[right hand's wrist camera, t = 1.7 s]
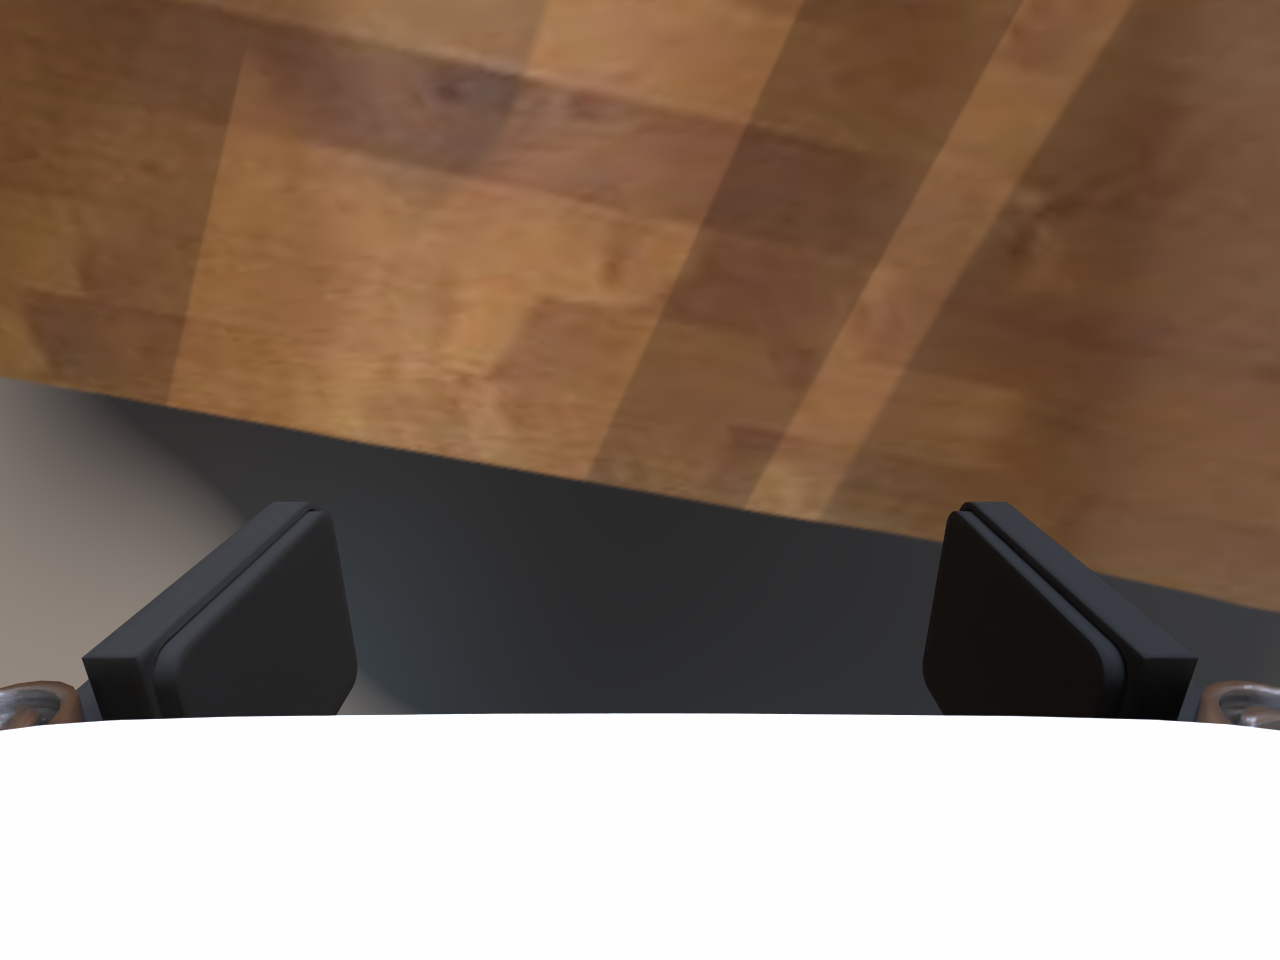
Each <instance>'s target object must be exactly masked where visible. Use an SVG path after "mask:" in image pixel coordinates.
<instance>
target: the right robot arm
mask: <svg viewBox="0 0 1280 960" xmlns="http://www.w3.org/2000/svg"><path fill="white" fill-rule="evenodd" d="M82 660H83V663H84V666H85V669H86V672H87V675H88V678H89V680H87V681H86V682H85V683H84V684H83V685H82V686H81V687H79V688H78V689H77V690H75V689H74V687H73V686H70V685H68V684H65V683H63V682H57V681H35V682H26V683H19V684H14V685H11V686H7V687H3V688H0V960H1280V688H1277V687H1273V686H1269V685H1265V684H1262V683H1254V682H1245V681H1223V682H1217V683H1215V684H1212V685H1210V686H1207V687H1206V689H1205V690H1203V689H1202V688H1201V687H1199V686H1198V685H1197V684H1196V683H1195V682H1194V681H1193V680H1191V678H1192V675H1193V672H1194V669H1195V666H1196V663H1197V660H1198V657H1196V656H1195V655H1194V654H1193V653H1191V652H1190V651H1189V650H1188V649H1187V648H1185V647H1184V646H1183V645H1182V644H1181V643H1179V642H1178V641H1177V640H1176V639H1174V638H1173V637H1172V636H1171V635H1169V634H1168V633H1167V632H1166V631H1165V630H1163V629H1162V628H1161V627H1160V626H1158V625H1157V624H1156V623H1155V622H1154V621H1152V620H1151V619H1150V618H1149V617H1147V616H1146V615H1145V614H1144V613H1142V612H1141V611H1140V610H1139V609H1138V608H1136V607H1135V606H1134V605H1133V604H1131V603H1130V602H1129V601H1128V600H1127V599H1125V598H1124V597H1123V596H1122V595H1120V594H1119V593H1118V592H1117V591H1116V590H1114V589H1113V588H1112V587H1111V586H1109V585H1108V584H1107V583H1106V582H1104V581H1103V580H1102V579H1101V578H1100V577H1098V576H1097V575H1096V574H1095V573H1093V572H1092V571H1091V570H1090V569H1089V568H1087V567H1086V566H1085V565H1084V564H1082V563H1081V562H1080V561H1079V560H1077V559H1076V558H1075V557H1074V556H1073V555H1071V554H1070V553H1069V552H1068V551H1066V550H1065V549H1064V548H1063V547H1062V546H1060V545H1059V544H1058V543H1057V542H1055V541H1054V540H1053V539H1052V538H1050V537H1049V536H1048V535H1047V534H1046V533H1044V532H1043V531H1042V530H1041V529H1039V528H1038V527H1037V526H1036V525H1035V524H1033V523H1032V522H1031V521H1030V520H1028V519H1027V518H1026V517H1025V516H1024V515H1022V514H1021V513H1020V512H1019V511H1017V510H1016V509H1015V508H1014V507H1012V506H1011V505H1010V504H1008V503H1006V502H965V503H964V504H963V505H962V506H961V508H960V510H959V511H954V512H952V513H951V514H950V515H949V517H948V520H947V524H946V530H945V535H944V541H943V547H942V553H941V559H940V565H939V570H938V576H937V582H936V588H935V594H934V600H933V605H932V611H931V617H930V623H929V629H928V635H927V640H926V646H925V652H924V658H923V675H924V680H925V683H926V685H927V687H928V689H929V691H930V693H931V694H932V696H933V698H934V699H935V701H936V703H937V704H938V706H939V708H940V709H941V711H942V713H943V714H944V716H916V715H914V716H913V715H797V714H458V715H364V716H336V714H337V713H338V711H339V709H340V708H341V706H342V704H343V703H344V701H345V699H346V698H347V696H348V694H349V693H350V691H351V689H352V687H353V685H354V683H355V680H356V675H357V658H356V652H355V647H354V640H353V635H352V629H351V623H350V617H349V611H348V605H347V600H346V594H345V588H344V582H343V576H342V571H341V565H340V559H339V553H338V547H337V541H336V535H335V530H334V524H333V520H332V517H331V515H330V514H329V513H328V512H326V511H321V510H320V508H319V506H318V505H317V504H316V503H314V502H274V503H272V504H270V505H269V506H268V507H266V508H265V509H264V510H263V511H261V512H260V513H259V514H258V515H257V516H255V517H254V518H253V519H252V520H250V521H249V522H248V523H247V524H245V525H244V526H243V527H242V528H241V529H239V530H238V531H237V532H236V533H234V534H233V535H232V536H231V537H230V538H228V539H227V540H226V541H225V542H223V543H222V544H221V545H220V546H218V547H217V548H216V549H215V550H214V551H212V552H211V553H210V554H209V555H207V556H206V557H205V558H204V559H203V560H201V561H200V562H199V563H198V564H196V565H195V566H194V567H193V568H192V569H190V570H189V571H188V572H187V573H185V574H184V575H183V576H182V577H180V578H179V579H178V580H177V581H176V582H174V583H173V584H172V585H171V586H170V587H168V588H167V589H166V590H164V591H163V592H162V593H161V594H160V595H158V596H157V597H156V598H155V599H153V600H152V601H151V602H150V603H149V604H147V605H146V606H145V607H144V608H143V609H141V610H140V611H139V612H138V613H136V614H135V615H134V616H133V617H131V618H130V619H129V620H128V621H126V622H125V623H124V624H123V625H122V626H120V627H119V628H118V629H117V630H115V631H114V632H113V633H112V634H111V635H109V636H108V637H107V638H106V639H104V640H103V641H102V642H101V643H100V644H98V645H97V646H96V647H95V648H93V649H92V650H91V651H90V652H88V653H87V654H86V655H85V656H84V657H82Z"/></svg>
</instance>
